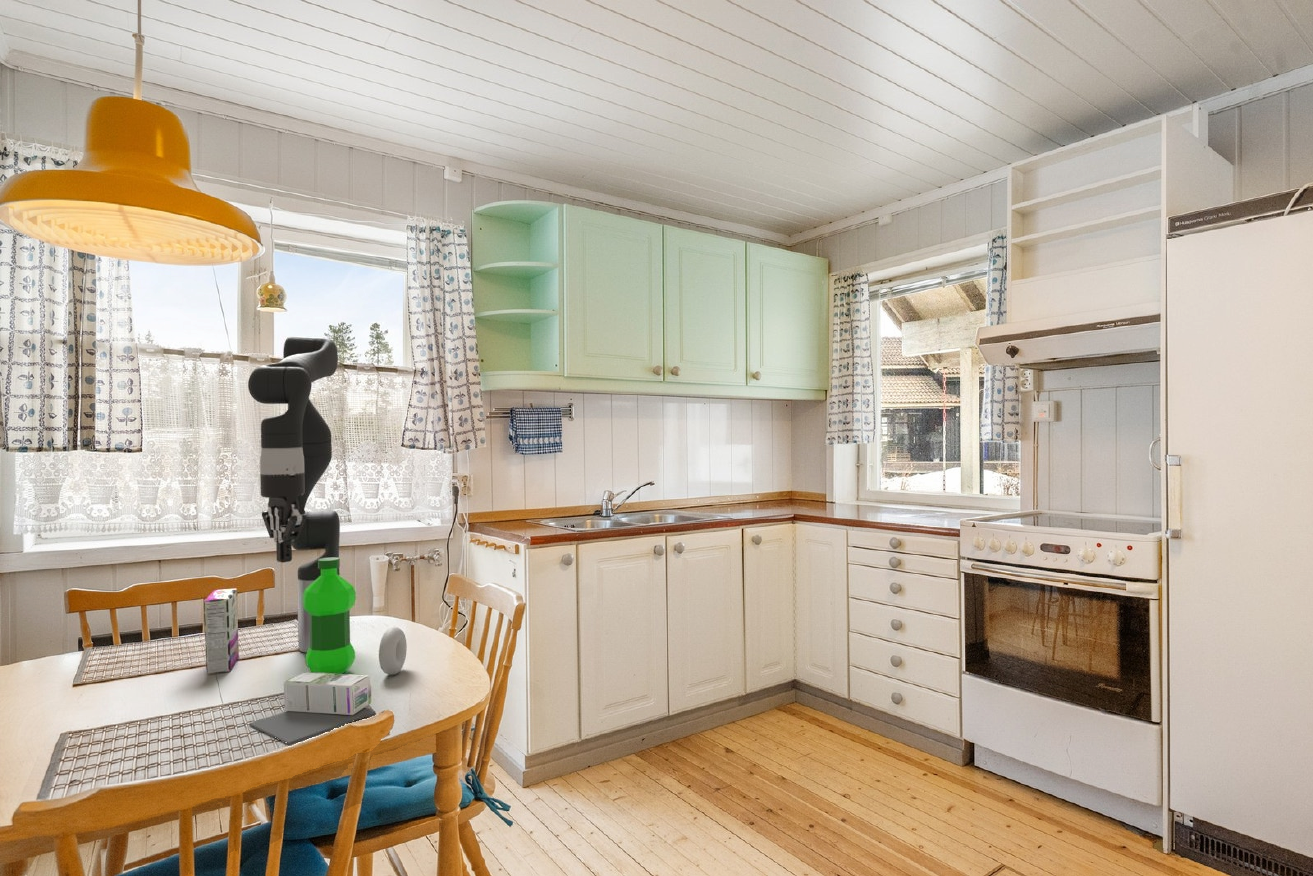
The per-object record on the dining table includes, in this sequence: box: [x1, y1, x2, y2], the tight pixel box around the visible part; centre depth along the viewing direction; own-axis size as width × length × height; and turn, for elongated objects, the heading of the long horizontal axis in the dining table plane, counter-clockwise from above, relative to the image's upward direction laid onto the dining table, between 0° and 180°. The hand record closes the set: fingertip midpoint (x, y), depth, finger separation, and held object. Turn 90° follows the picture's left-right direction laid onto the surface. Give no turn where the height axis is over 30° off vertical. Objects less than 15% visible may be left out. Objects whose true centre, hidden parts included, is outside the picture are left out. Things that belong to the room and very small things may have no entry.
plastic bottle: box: [303, 557, 357, 674], centre depth 156 cm, size 10×10×25 cm
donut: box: [378, 626, 408, 676], centre depth 156 cm, size 10×4×10 cm, turn 0°
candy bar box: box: [203, 588, 240, 675], centre depth 162 cm, size 11×5×16 cm, turn 22°
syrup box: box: [283, 671, 372, 715], centre depth 135 cm, size 6×6×14 cm
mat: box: [248, 707, 376, 746], centre depth 131 cm, size 14×16×1 cm
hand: (284, 561), depth 138 cm, fingers closed
